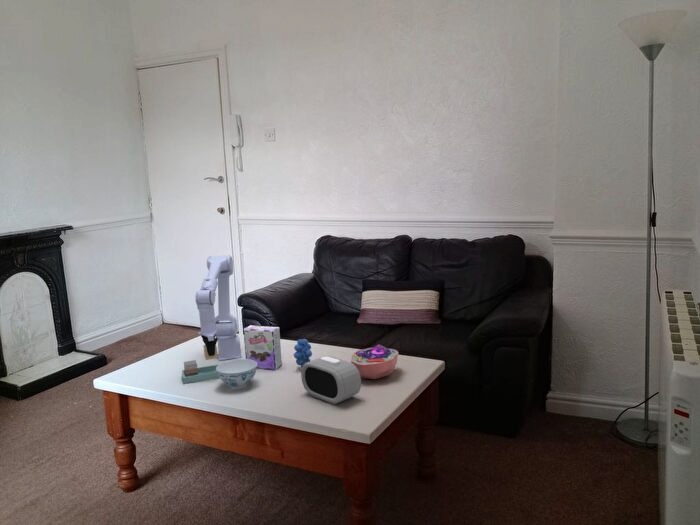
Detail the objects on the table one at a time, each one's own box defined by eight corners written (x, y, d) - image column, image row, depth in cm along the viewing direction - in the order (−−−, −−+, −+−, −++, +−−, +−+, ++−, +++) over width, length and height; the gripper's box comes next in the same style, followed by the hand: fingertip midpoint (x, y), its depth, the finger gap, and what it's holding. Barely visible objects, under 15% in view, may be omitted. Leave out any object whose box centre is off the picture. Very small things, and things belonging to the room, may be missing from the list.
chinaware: (209, 387, 213) (207, 368, 212) (241, 375, 224) (240, 356, 223) (234, 396, 204) (233, 376, 202) (267, 383, 215) (265, 363, 213)
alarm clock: (301, 393, 203) (299, 357, 201) (321, 385, 210) (319, 350, 207) (341, 409, 188) (339, 370, 186) (362, 399, 195) (360, 362, 193)
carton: (216, 354, 228) (215, 343, 227) (217, 358, 224) (216, 346, 223) (204, 356, 227) (203, 345, 226) (205, 360, 222) (204, 348, 222)
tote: (220, 370, 232) (219, 364, 231) (223, 377, 223) (222, 371, 223) (182, 376, 227) (181, 370, 227) (184, 384, 218) (183, 377, 218)
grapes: (305, 373, 223) (303, 343, 221) (291, 371, 226) (288, 342, 224) (320, 363, 233) (318, 334, 231) (305, 361, 236) (303, 333, 234)
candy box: (245, 367, 233) (242, 328, 230) (253, 362, 238) (250, 324, 236) (275, 370, 228) (272, 330, 225) (282, 365, 233) (279, 326, 231)
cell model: (340, 379, 215) (338, 350, 213) (375, 364, 229) (373, 336, 227) (375, 389, 203) (373, 359, 201) (409, 372, 218) (408, 344, 216)
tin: (197, 374, 227) (195, 359, 226) (198, 378, 222) (197, 363, 221) (185, 376, 225) (183, 361, 224) (186, 380, 221) (184, 365, 220)
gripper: (195, 317, 228) (198, 350, 230) (198, 326, 215) (202, 360, 217) (213, 314, 231) (216, 347, 233) (217, 323, 217) (221, 357, 219)
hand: (210, 353), depth 225 cm, fingers closed on carton, 4 cm apart
